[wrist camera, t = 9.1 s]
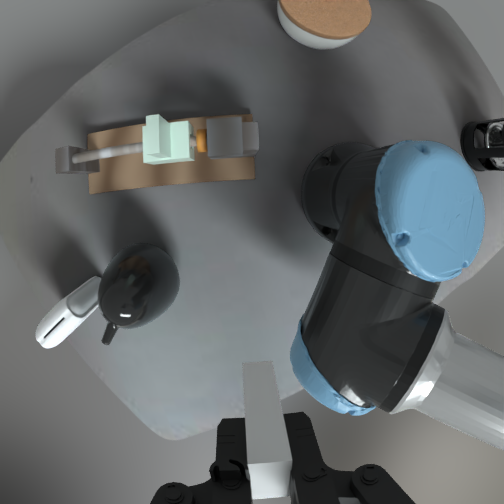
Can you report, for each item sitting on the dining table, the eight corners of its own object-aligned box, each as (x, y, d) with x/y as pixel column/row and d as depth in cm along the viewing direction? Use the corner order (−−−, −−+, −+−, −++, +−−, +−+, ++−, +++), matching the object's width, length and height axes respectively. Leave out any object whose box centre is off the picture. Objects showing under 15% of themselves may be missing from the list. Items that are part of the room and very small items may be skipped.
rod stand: (251, 116, 39) (256, 94, 28) (254, 179, 41) (261, 177, 30) (91, 135, 38) (53, 124, 27) (93, 193, 40) (55, 198, 29)
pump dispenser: (110, 284, 43) (64, 326, 29) (135, 225, 42) (88, 247, 27) (166, 315, 45) (140, 370, 30) (195, 258, 43) (176, 297, 28)
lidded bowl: (261, 3, 35) (268, -37, 24) (334, -3, 35) (355, -38, 24) (285, 66, 38) (299, 33, 27) (360, 57, 37) (391, 30, 27)
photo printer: (78, 323, 45) (44, 359, 33) (63, 304, 44) (25, 335, 32) (115, 291, 44) (80, 325, 32) (98, 270, 43) (59, 298, 31)
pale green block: (193, 127, 33) (179, 109, 24) (194, 160, 33) (180, 152, 25) (152, 132, 32) (126, 117, 24) (153, 164, 33) (127, 159, 24)
